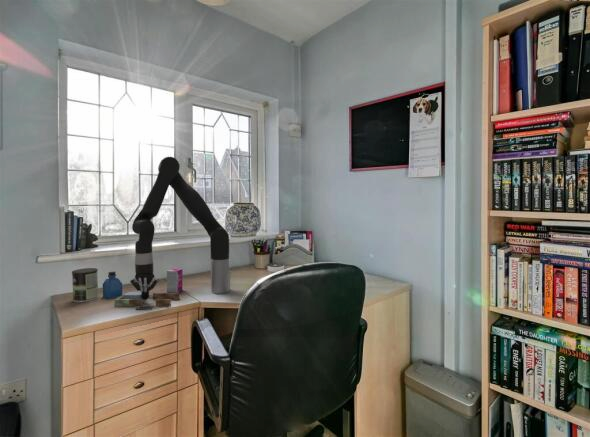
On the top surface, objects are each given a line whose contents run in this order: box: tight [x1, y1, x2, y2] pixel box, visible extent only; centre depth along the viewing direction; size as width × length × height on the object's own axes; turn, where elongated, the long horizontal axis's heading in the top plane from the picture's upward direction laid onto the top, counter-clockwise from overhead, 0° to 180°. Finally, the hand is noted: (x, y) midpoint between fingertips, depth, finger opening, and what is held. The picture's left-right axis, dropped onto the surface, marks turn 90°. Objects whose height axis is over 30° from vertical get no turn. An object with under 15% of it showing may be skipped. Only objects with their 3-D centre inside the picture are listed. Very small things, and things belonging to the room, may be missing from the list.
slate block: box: [122, 291, 146, 303], centre depth 145 cm, size 8×5×4 cm, turn 87°
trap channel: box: [114, 292, 181, 311], centre depth 143 cm, size 25×20×3 cm
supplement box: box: [166, 268, 183, 293], centre depth 161 cm, size 6×6×12 cm
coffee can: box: [71, 267, 99, 303], centre depth 148 cm, size 10×10×14 cm
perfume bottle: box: [102, 271, 123, 300], centre depth 153 cm, size 6×6×12 cm
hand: (145, 299), depth 143 cm, fingers closed
